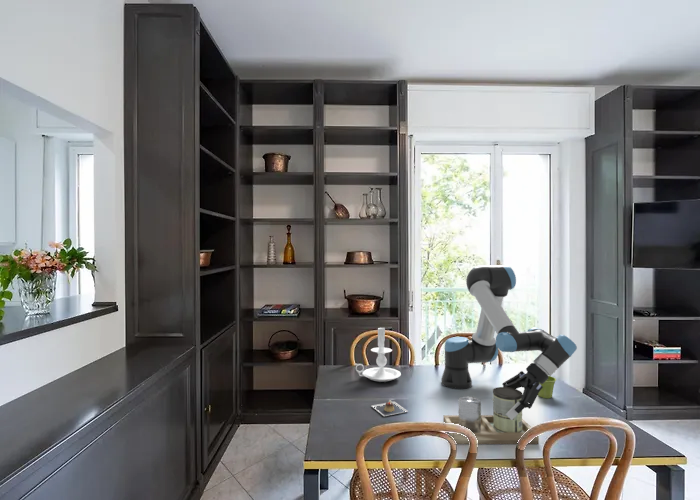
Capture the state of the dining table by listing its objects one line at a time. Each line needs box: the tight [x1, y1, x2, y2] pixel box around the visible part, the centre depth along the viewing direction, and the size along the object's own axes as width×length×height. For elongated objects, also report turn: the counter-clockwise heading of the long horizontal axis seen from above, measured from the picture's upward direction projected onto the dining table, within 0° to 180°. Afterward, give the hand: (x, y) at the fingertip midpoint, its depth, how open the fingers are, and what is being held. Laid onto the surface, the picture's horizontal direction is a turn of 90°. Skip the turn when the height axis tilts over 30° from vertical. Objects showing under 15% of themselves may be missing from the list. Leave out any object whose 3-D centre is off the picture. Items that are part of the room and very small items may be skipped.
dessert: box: [371, 399, 409, 417], centre depth 169 cm, size 12×12×5 cm
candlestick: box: [354, 326, 402, 383], centre depth 208 cm, size 21×25×28 cm
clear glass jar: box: [458, 396, 482, 433], centre depth 147 cm, size 8×8×11 cm
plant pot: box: [537, 375, 557, 399], centre depth 184 cm, size 9×9×9 cm
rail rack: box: [443, 414, 540, 445], centre depth 147 cm, size 16×30×4 cm, turn 90°
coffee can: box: [492, 386, 523, 432], centre depth 147 cm, size 10×10×14 cm
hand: (501, 409), depth 147 cm, fingers open, 13 cm apart
